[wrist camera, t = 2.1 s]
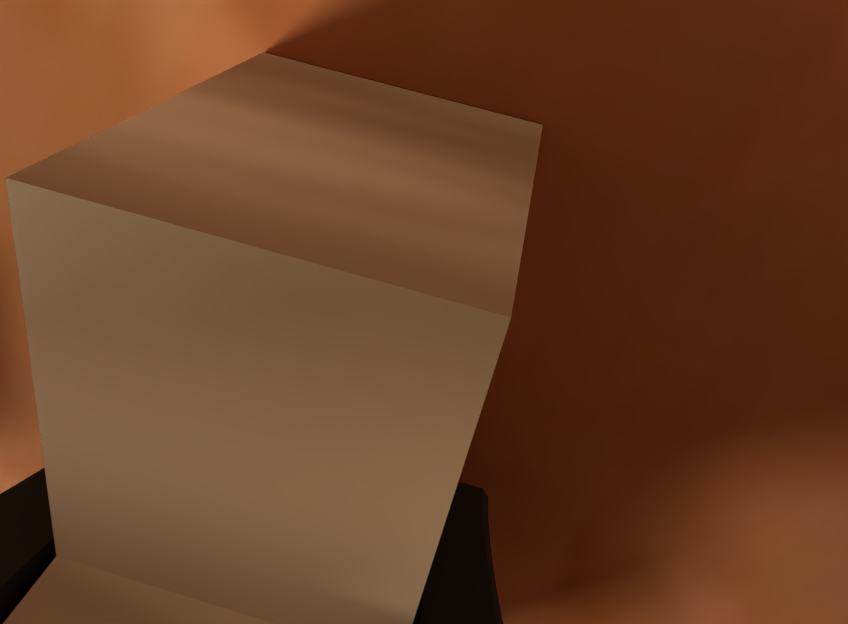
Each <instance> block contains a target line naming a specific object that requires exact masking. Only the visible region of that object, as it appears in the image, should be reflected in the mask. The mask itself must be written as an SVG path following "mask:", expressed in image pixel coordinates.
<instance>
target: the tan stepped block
mask: <svg viewBox="0 0 848 624" xmlns="http://www.w3.org/2000/svg"><path fill="white" fill-rule="evenodd" d="M542 128H543V125H542V124H538V123H534V122H530V121H526V120H522V119H519V118H515V117H511V116H507V115H503V114H499V113H495V112H492V111H488V110H484V109H480V108H476V107H472V106H468V105H465V104H461V103H457V102H453V101H449V100H445V99H442V98H438V97H434V96H430V95H426V94H422V93H418V92H415V91H411V90H407V89H403V88H399V87H395V86H391V85H388V84H384V83H380V82H376V81H372V80H368V79H364V78H361V77H357V76H353V75H349V74H345V73H341V72H337V71H334V70H330V69H326V68H322V67H318V66H314V65H310V64H307V63H303V62H299V61H295V60H291V59H287V58H283V57H280V56H276V55H272V54H268V53H264V52H263V53H261V54H259V55H257V56H255V57H253V58H251V59H249V60H247V61H245V62H243V63H240V64H238V65H236V66H234V67H232V68H230V69H228V70H226V71H224V72H222V73H220V74H218V75H216V76H214V77H212V78H210V79H208V80H206V81H204V82H202V83H199V84H197V85H195V86H193V87H191V88H189V89H187V90H185V91H183V92H181V93H179V94H177V95H175V96H173V97H171V98H169V99H167V100H165V101H163V102H160V103H158V104H156V105H154V106H152V107H150V108H148V109H146V110H144V111H142V112H140V113H138V114H136V115H134V116H132V117H130V118H128V119H126V120H124V121H122V122H119V123H117V124H115V125H113V126H111V127H109V128H107V129H105V130H103V131H101V132H99V133H97V134H95V135H93V136H91V137H89V138H87V139H85V140H83V141H80V142H78V143H76V144H74V145H72V146H70V147H68V148H66V149H64V150H62V151H60V152H58V153H56V154H54V155H52V156H50V157H48V158H46V159H44V160H42V161H39V162H37V163H35V164H33V165H31V166H29V167H27V168H25V169H23V170H21V171H19V172H17V173H15V174H13V175H11V176H9V177H7V178H6V183H7V191H8V198H9V206H10V213H11V221H12V228H13V236H14V243H15V251H16V258H17V266H18V273H19V281H20V288H21V295H22V303H23V310H24V318H25V325H26V333H27V340H28V348H29V355H30V363H31V370H32V378H33V385H34V393H35V400H36V408H37V415H38V423H39V430H40V438H41V445H42V453H43V460H44V468H45V475H46V483H47V490H48V498H49V505H50V513H51V520H52V528H53V535H54V543H55V550H56V558H55V559H54V560H53V561H52V563H51V564H50V565H49V566H48V568H47V569H46V570H45V571H44V573H43V574H42V575H41V576H40V578H39V579H38V580H37V581H36V583H35V584H34V585H33V586H32V588H31V589H30V590H29V591H28V593H27V594H26V595H25V596H24V598H23V599H22V600H21V602H20V603H19V604H18V605H17V607H16V608H15V609H14V610H13V612H12V613H11V614H10V615H9V617H8V618H7V619H6V620H5V622H4V623H3V624H413V621H414V617H415V614H416V611H417V608H418V605H419V602H420V599H421V596H422V593H423V590H424V586H425V583H426V580H427V577H428V574H429V571H430V568H431V565H432V562H433V559H434V555H435V552H436V549H437V546H438V543H439V540H440V537H441V534H442V531H443V528H444V524H445V521H446V518H447V515H448V512H449V509H450V506H451V503H452V500H453V497H454V493H455V490H456V487H457V484H458V481H459V478H460V475H461V472H462V469H463V466H464V462H465V459H466V456H467V453H468V450H469V447H470V444H471V441H472V438H473V435H474V431H475V428H476V425H477V422H478V419H479V416H480V413H481V410H482V407H483V404H484V400H485V397H486V394H487V391H488V388H489V385H490V382H491V379H492V376H493V373H494V369H495V366H496V363H497V360H498V357H499V354H500V351H501V348H502V345H503V341H504V338H505V335H506V332H507V329H508V326H509V323H510V320H511V316H512V310H513V304H514V298H515V292H516V285H517V279H518V273H519V267H520V261H521V255H522V249H523V243H524V237H525V231H526V225H527V219H528V213H529V207H530V201H531V195H532V189H533V183H534V176H535V170H536V164H537V158H538V152H539V146H540V140H541V134H542Z"/></svg>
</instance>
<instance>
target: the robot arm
mask: <svg viewBox="0 0 848 624" xmlns="http://www.w3.org/2000/svg"><path fill="white" fill-rule="evenodd" d="M55 558H56V550H55V543H54V535H53V528H52V520H51V513H50V505H49V498H48V490H47V483H46V475H45V468H43V469H41V470H40V471H38V472H36V473H35V474H33V475H31V476H30V477H28V478H26V479H25V480H23V481H21V482H20V483H18V484H16V485H15V486H13V487H11V488H10V489H8V490H6V491H4V492H3V493H1V494H0V624H3V623H4V622H5V620H6V619H7V618H8V617H9V615H10V614H11V613H12V612H13V610H14V609H15V608H16V607H17V605H18V604H19V603H20V602H21V600H22V599H23V598H24V596H25V595H26V594H27V593H28V591H29V590H30V589H31V588H32V586H33V585H34V584H35V583H36V581H37V580H38V579H39V578H40V576H41V575H42V574H43V573H44V571H45V570H46V569H47V568H48V566H49V565H50V564H51V563H52V561H53V560H54V559H55ZM413 624H503V622H502V617H501V612H500V607H499V601H498V596H497V590H496V584H495V577H494V570H493V563H492V555H491V547H490V538H489V526H488V496H487V495H486V493H485V492H484V490H483V489H482V488H478V487H475V486H471V485H468V484H465V483H461V482H458V484H457V487H456V490H455V493H454V497H453V500H452V503H451V506H450V509H449V512H448V515H447V518H446V521H445V524H444V528H443V531H442V534H441V537H440V540H439V543H438V546H437V549H436V552H435V555H434V559H433V562H432V565H431V568H430V571H429V574H428V577H427V580H426V583H425V586H424V590H423V593H422V596H421V599H420V602H419V605H418V608H417V611H416V614H415V617H414V621H413Z"/></svg>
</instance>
